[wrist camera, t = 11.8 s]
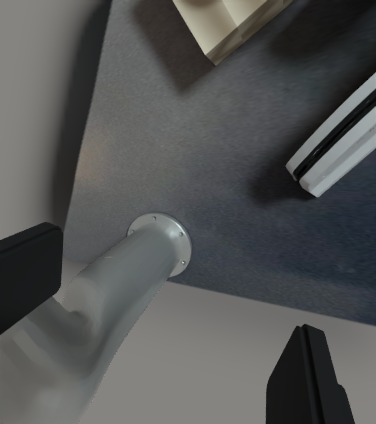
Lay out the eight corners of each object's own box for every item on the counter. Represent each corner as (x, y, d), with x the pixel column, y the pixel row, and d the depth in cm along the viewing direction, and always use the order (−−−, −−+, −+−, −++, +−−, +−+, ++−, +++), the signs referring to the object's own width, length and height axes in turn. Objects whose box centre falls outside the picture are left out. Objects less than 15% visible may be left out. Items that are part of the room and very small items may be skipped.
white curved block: (315, 199, 36) (304, 201, 28) (291, 176, 38) (274, 171, 29) (436, 96, 29) (470, 56, 20) (399, 73, 30) (417, 27, 22)
